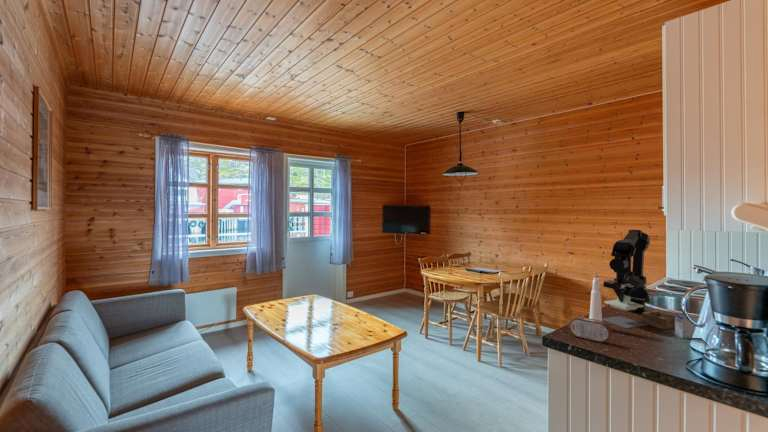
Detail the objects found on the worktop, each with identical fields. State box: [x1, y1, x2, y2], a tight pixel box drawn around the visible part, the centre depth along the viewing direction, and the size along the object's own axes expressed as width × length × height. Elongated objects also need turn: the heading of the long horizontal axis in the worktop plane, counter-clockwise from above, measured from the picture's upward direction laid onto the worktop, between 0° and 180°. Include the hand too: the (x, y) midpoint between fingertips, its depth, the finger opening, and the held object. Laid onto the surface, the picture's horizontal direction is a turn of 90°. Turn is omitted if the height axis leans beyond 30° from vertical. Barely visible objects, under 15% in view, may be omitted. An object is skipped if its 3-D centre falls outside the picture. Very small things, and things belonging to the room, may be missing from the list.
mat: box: [602, 315, 648, 329], centre depth 161 cm, size 13×13×1 cm
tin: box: [568, 316, 613, 343], centre depth 141 cm, size 15×3×8 cm, turn 47°
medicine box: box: [674, 314, 700, 339], centre depth 143 cm, size 8×4×9 cm, turn 84°
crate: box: [641, 310, 675, 331], centre depth 158 cm, size 10×10×4 cm
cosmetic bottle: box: [588, 277, 603, 321], centre depth 155 cm, size 6×6×22 cm
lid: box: [603, 295, 644, 312], centre depth 161 cm, size 11×11×6 cm
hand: (623, 301), depth 161 cm, fingers closed on lid
